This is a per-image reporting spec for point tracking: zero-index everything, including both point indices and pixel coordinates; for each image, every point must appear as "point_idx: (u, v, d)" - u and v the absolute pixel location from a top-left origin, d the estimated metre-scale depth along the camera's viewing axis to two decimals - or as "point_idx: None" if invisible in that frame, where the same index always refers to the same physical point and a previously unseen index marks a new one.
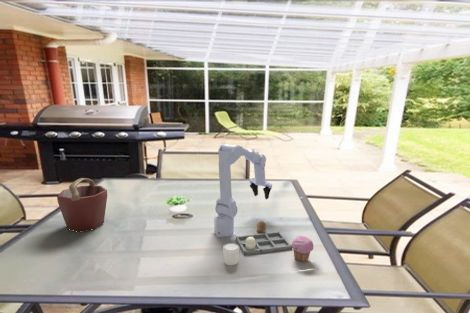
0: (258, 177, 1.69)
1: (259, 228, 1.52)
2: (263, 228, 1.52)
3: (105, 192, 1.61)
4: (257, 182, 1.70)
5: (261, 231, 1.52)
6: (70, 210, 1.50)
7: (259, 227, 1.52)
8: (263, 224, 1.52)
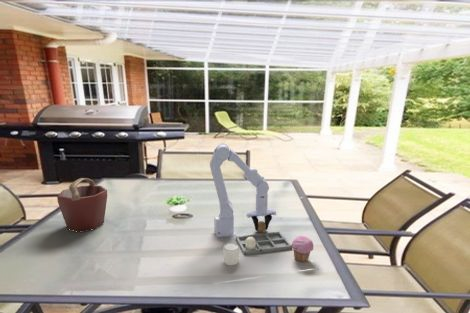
0: None
1: (259, 228, 1.52)
2: (263, 228, 1.52)
3: (105, 192, 1.61)
4: None
5: (261, 231, 1.52)
6: (70, 210, 1.50)
7: (259, 227, 1.52)
8: (263, 224, 1.52)
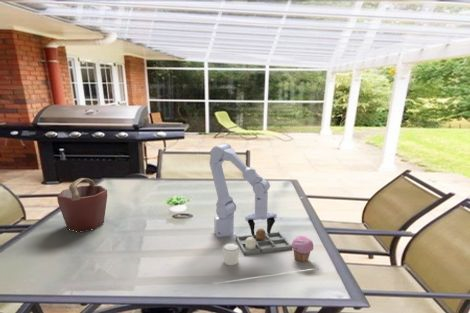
0: None
1: (258, 236, 1.42)
2: (263, 236, 1.42)
3: (105, 192, 1.61)
4: None
5: (260, 239, 1.42)
6: (70, 210, 1.50)
7: (258, 235, 1.42)
8: (263, 232, 1.42)
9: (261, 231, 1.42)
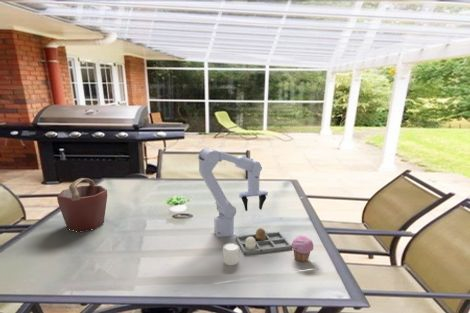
0: None
1: (258, 236, 1.42)
2: (262, 236, 1.42)
3: (105, 192, 1.61)
4: None
5: (260, 239, 1.42)
6: (70, 210, 1.50)
7: (258, 235, 1.42)
8: (262, 232, 1.42)
9: (261, 231, 1.42)
